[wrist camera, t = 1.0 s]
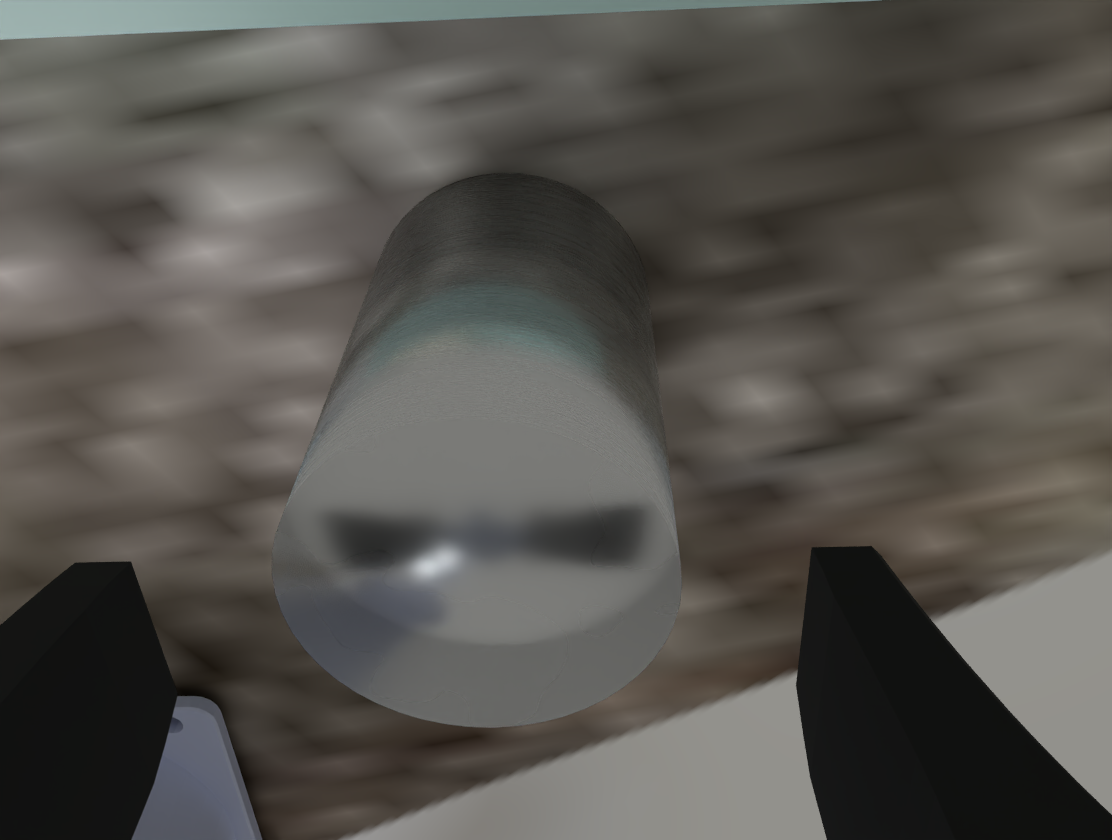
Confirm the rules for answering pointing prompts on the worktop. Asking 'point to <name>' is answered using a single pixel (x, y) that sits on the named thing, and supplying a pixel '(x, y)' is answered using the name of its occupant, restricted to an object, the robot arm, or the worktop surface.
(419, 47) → the worktop surface
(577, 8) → the tote
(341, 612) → the tin can
